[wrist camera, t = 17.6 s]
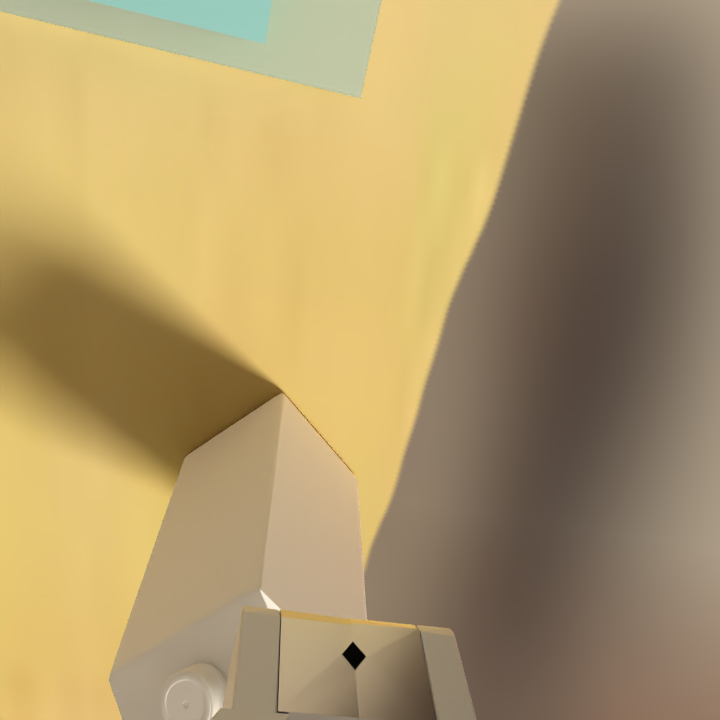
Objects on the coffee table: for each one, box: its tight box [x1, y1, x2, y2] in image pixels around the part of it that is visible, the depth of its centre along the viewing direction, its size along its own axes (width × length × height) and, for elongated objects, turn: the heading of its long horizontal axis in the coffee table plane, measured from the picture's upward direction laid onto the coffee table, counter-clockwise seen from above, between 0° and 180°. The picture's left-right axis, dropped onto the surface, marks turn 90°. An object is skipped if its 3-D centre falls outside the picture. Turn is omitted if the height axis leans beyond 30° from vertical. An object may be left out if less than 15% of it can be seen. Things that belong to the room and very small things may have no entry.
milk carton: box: [109, 393, 367, 720], centre depth 31 cm, size 7×7×19 cm
